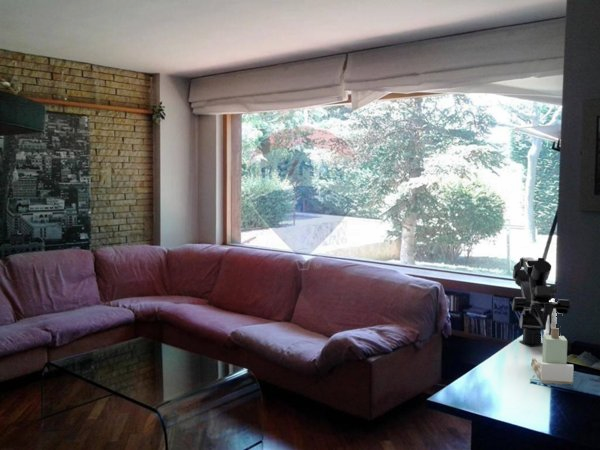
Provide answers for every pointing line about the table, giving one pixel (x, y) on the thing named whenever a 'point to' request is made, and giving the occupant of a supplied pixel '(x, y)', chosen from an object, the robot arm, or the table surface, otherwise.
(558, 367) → the wall
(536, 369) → the birch rail
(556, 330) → the sliding block
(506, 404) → the table surface
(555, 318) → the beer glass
